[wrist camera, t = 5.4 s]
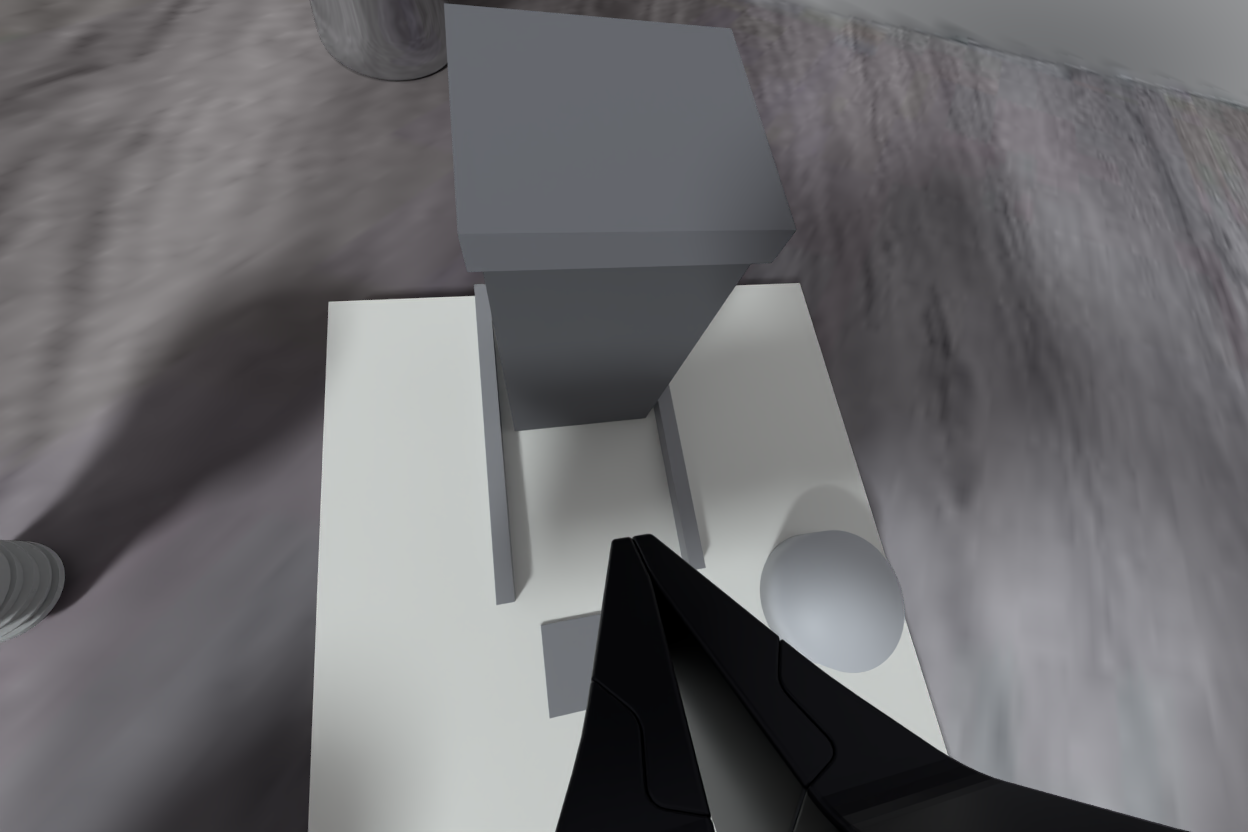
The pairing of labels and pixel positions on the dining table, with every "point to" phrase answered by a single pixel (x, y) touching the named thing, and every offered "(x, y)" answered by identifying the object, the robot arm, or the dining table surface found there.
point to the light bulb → (27, 585)
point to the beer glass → (384, 36)
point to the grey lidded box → (604, 199)
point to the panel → (562, 552)
